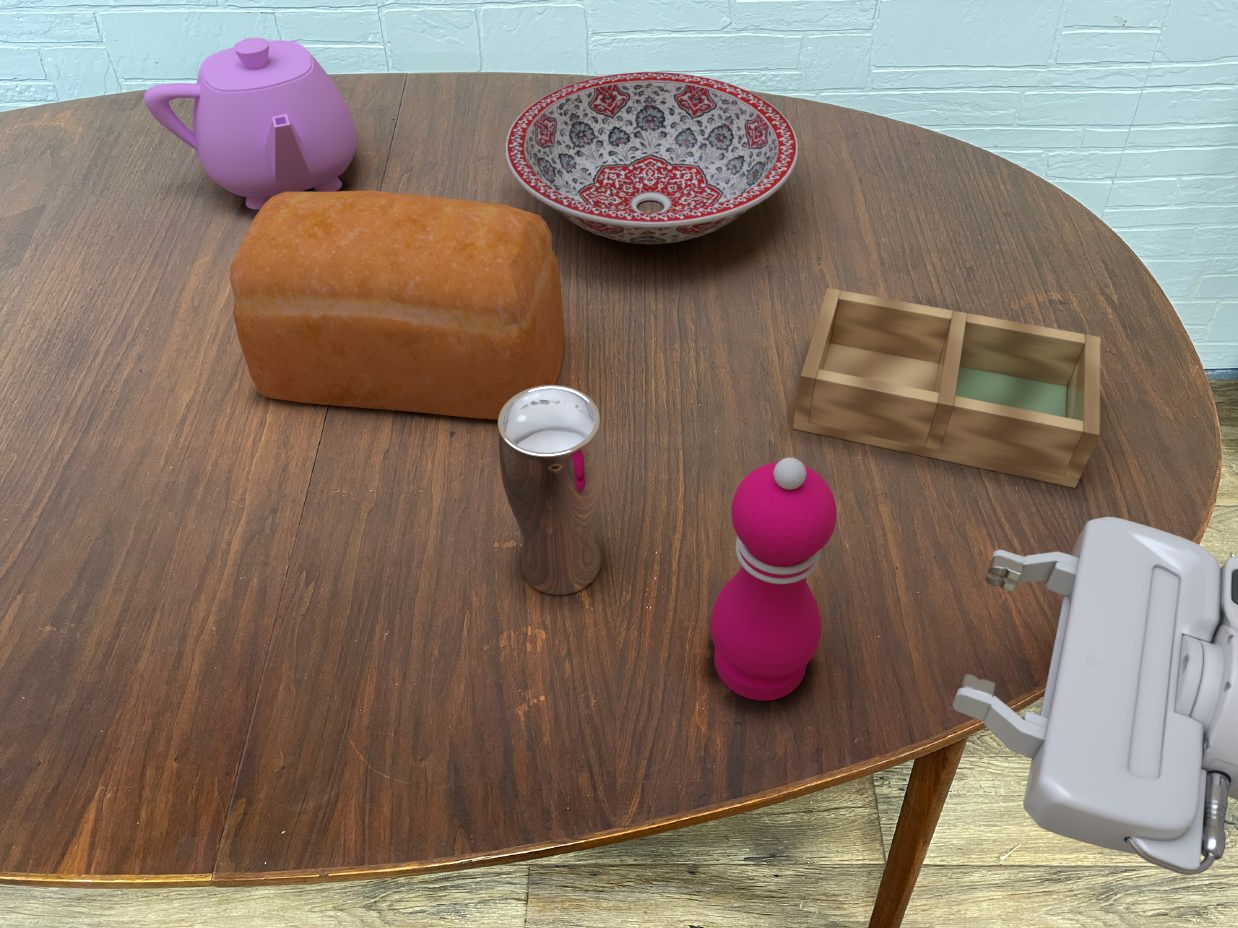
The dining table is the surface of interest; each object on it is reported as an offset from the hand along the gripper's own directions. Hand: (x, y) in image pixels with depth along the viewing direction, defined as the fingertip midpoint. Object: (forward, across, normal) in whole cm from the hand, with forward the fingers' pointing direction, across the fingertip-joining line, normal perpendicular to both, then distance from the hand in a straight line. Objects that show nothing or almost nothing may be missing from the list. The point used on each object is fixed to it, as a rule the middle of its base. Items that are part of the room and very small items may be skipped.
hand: (973, 624), depth 60 cm
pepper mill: (+12, 0, -11) cm, 16 cm away
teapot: (+79, +35, -12) cm, 88 cm away
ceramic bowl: (+40, +48, -12) cm, 64 cm away
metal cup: (+28, +2, -11) cm, 31 cm away
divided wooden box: (+6, +30, -11) cm, 32 cm away
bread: (+50, +16, -11) cm, 54 cm away
